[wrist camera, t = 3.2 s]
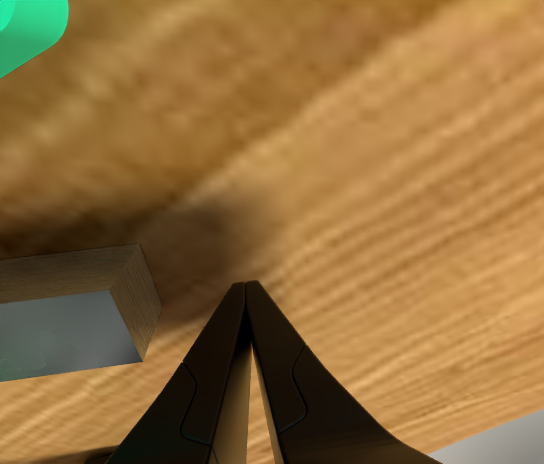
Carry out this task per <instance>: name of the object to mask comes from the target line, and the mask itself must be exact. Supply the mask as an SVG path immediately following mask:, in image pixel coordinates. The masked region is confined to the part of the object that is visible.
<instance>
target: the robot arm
mask: <svg viewBox="0 0 544 464" xmlns="http://www.w3.org/2000/svg"><path fill="white" fill-rule="evenodd" d="M252 348H253V354H254V359H255V364H256V369H257V374H258V379H259V384H260V389H261V394H262V399H263V404H264V409H265V414H266V419H267V424H268V429H269V434H270V439H271V444H272V449H273V454H274V459H275V464H443V463H441V462H438V461H437V460H435V459H433V458H431V457H429V456H427V455H425V454H423V453H421V452H420V451H418V450H416V449H414V448H412V447H410V446H408V445H406V444H405V443H403V442H402V441H400V440H399V439H397V438H396V437H394V436H393V435H392V434H390V433H389V432H388V431H387V430H386V429H385V428H383V427H382V426H381V425H380V424H379V423H378V422H377V421H376V420H375V419H374V418H373V417H372V416H371V415H370V414H369V413H368V412H367V411H366V410H365V409H364V408H363V406H362V405H361V404H360V403H359V402H358V401H357V400H356V399H355V398H354V397H353V396H352V395H351V394H350V393H349V392H348V391H347V390H346V389H345V388H344V387H343V386H342V385H341V384H340V383H339V382H338V381H337V380H336V379H335V378H334V377H333V376H332V374H331V373H330V372H329V371H328V370H327V369H326V368H325V367H324V365H323V364H322V363H321V362H320V361H319V359H318V358H317V357H316V356H315V354H314V353H313V352H312V351H311V349H310V348H309V347H308V345H306V343H305V341H304V340H303V339H302V338H301V336H300V335H299V334H298V332H297V331H296V330H295V328H294V327H293V326H292V324H291V323H290V322H289V320H288V319H287V318H286V316H285V315H284V314H283V313H282V311H281V310H280V309H279V307H278V306H277V305H276V303H275V302H274V301H273V299H272V298H271V297H270V295H269V294H268V293H267V291H266V290H265V289H264V287H263V286H262V285H261V284H260V282H259V281H258V280H253V281H247V282H246V283H245V282H237V283H233V284H232V286H231V287H230V289H229V290H228V292H227V293H226V295H225V296H224V298H223V300H222V301H221V303H220V304H219V306H218V307H217V309H216V310H215V312H214V313H213V315H212V316H211V318H210V319H209V321H208V323H207V324H206V326H205V327H204V329H203V330H202V332H201V333H200V335H199V336H198V338H197V339H196V341H195V342H194V344H193V345H192V347H191V349H190V350H189V352H188V353H187V355H186V356H185V358H184V359H183V362H182V363H181V364H180V365H179V367H178V368H177V370H176V371H175V373H174V374H173V376H172V377H171V379H170V380H169V382H168V383H167V384H166V386H165V387H164V389H163V390H162V392H161V393H160V394H159V396H158V397H157V398H156V399H155V401H154V402H153V403H152V405H151V406H150V407H149V409H148V410H147V411H146V413H145V414H144V415H143V416H142V418H141V419H140V420H139V421H138V423H137V424H136V425H135V426H134V428H133V429H132V430H131V431H130V433H129V434H128V435H127V436H126V438H125V439H124V440H123V441H122V443H121V444H120V445H119V446H118V448H117V449H116V450H115V451H114V453H113V454H112V455H110V456H104V457H98V458H92V459H87V460H86V461H85V462H84V464H246V455H247V435H248V416H249V397H250V378H251V359H252Z"/></svg>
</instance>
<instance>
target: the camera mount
mask: <svg viewBox="0 0 544 464" xmlns="http://www.w3.org/2000/svg"><path fill="white" fill-rule="evenodd" d="M68 11H69V8H68V0H0V78H2V77H3V76H5V75H6V74H8V73H10V72H11V71H13V70H14V69H16V68H18V67H19V66H21V65H22V64H24V63H26V62H27V61H29V60H30V59H32V58H34V57H35V56H37V55H38V54H40V53H42V52H43V51H45V50H46V49H48V48H49V47H51V46H53V45H54V44H55V43H56V42H57V41H58V40H59V39H60V38H61V36H62V35H63V33H64V31H65V28H66V26H67V21H68Z"/></svg>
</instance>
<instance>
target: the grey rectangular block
mask: <svg viewBox="0 0 544 464" xmlns="http://www.w3.org/2000/svg"><path fill="white" fill-rule="evenodd" d="M161 309H162V304H161V301H160V298H159V296H158V293H157V290H156V288H155V285H154V282H153V279H152V277H151V274H150V271H149V269H148V266H147V263H146V260H145V258H144V255H143V252H142V250H141V247H140V244H130V245H122V246H113V247H105V248H96V249H88V250H79V251H71V252H62V253H54V254H45V255H37V256H28V257H20V258H11V259H3V260H0V382H3V381H10V380H17V379H25V378H32V377H39V376H46V375H53V374H60V373H67V372H74V371H81V370H88V369H95V368H102V367H109V366H116V365H123V364H130V363H137V362H143V360H144V357H145V354H146V352H147V349H148V346H149V343H150V340H151V338H152V335H153V332H154V329H155V326H156V323H157V321H158V318H159V315H160V312H161Z"/></svg>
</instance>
